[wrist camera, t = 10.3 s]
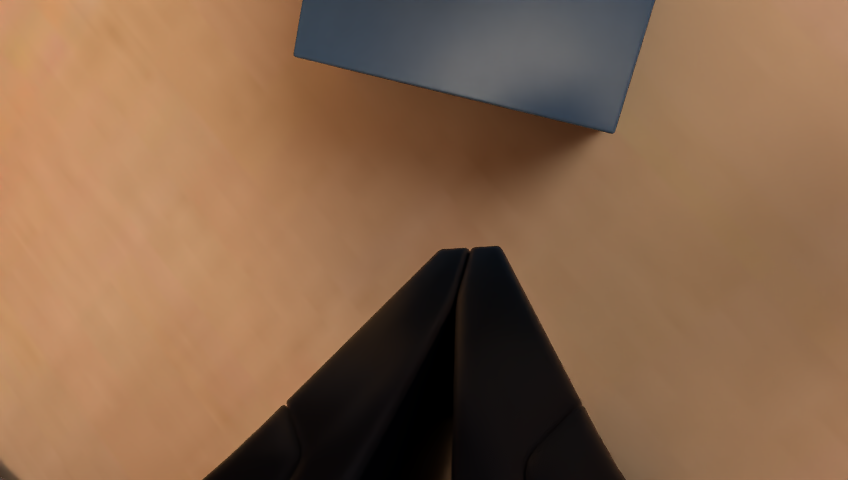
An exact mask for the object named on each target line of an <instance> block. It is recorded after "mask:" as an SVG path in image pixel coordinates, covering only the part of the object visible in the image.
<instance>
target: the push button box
mask: <svg viewBox="0 0 848 480" xmlns="http://www.w3.org/2000/svg"><path fill="white" fill-rule="evenodd" d="M654 3H655V0H303V1H302V7H301V13H300V19H299V25H298V31H297V37H296V43H295V49H294V56H295V57H297V58H301V59H306V60H310V61H314V62H318V63H322V64H326V65H330V66H334V67H339V68H343V69H347V70H351V71H355V72H359V73H363V74H367V75H372V76H376V77H380V78H384V79H388V80H392V81H396V82H400V83H405V84H409V85H413V86H417V87H421V88H425V89H429V90H433V91H437V92H442V93H446V94H450V95H454V96H458V97H462V98H466V99H470V100H475V101H479V102H483V103H487V104H491V105H495V106H499V107H503V108H508V109H512V110H516V111H520V112H524V113H528V114H532V115H536V116H541V117H545V118H549V119H553V120H557V121H561V122H565V123H569V124H573V125H578V126H582V127H586V128H590V129H594V130H598V131H602V132H606V133H611V134H613V133H614V132H615V130H616V127H617V124H618V120H619V117H620V114H621V111H622V107H623V104H624V101H625V97H626V94H627V91H628V88H629V84H630V81H631V78H632V75H633V71H634V68H635V65H636V62H637V58H638V55H639V52H640V48H641V45H642V42H643V39H644V35H645V32H646V29H647V26H648V22H649V19H650V16H651V13H652V9H653V6H654Z"/></svg>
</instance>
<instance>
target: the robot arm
mask: <svg viewBox="0 0 848 480" xmlns="http://www.w3.org/2000/svg"><path fill="white" fill-rule="evenodd" d="M203 480H626V479H625V478H624V476H623V475H622V473H621V472H620V470H619V469H618V467H617V466H616V464H615V462H614V460H613V459H612V457H611V455H610V453H609V452H608V450H607V448H606V446H605V445H604V443H603V441H602V439H601V438H600V436H599V434H598V432H597V431H596V429H595V427H594V425H593V423H592V421H591V419H590V417H589V415H588V413H587V411H586V409H585V408H584V407H583V406H582V403H581V401H580V399H579V397H578V395H577V393H576V391H575V389H574V387H573V385H572V383H571V381H570V379H569V377H568V375H567V374H566V372H565V370H564V368H563V366H562V364H561V362H560V360H559V358H558V356H557V354H556V352H555V350H554V348H553V346H552V345H551V343H550V341H549V339H548V337H547V335H546V333H545V331H544V329H543V327H542V325H541V323H540V321H539V319H538V317H537V316H536V314H535V312H534V310H533V308H532V306H531V304H530V302H529V300H528V298H527V296H526V294H525V292H524V290H523V288H522V287H521V285H520V283H519V281H518V279H517V277H516V275H515V273H514V271H513V269H512V267H511V265H510V263H509V261H508V259H507V258H506V256H505V254H504V252H503V250H502V249H501V247H499V246H487V247H475V248H472V249H471V251H469V249H467V248H454V249H442V250H440V251H438V252H437V253H436V254H435V255H434V256H433V257H432V258H431V259H430V260H429V261H428V262H427V263H426V264H425V265H424V266H423V267H422V268H421V269H420V270H419V271H418V272H417V273H416V274H415V275H414V276H413V277H412V278H411V279H410V280H409V281H408V282H407V283H406V284H405V285H404V286H403V287H402V288H401V289H400V290H399V291H398V292H397V293H396V294H394V295H393V296H392V297H391V298H390V299H389V300H388V301H387V302H386V303H385V304H384V305H383V306H382V307H381V308H380V309H379V310H378V311H377V312H376V313H375V314H374V315H373V316H372V317H371V318H370V319H369V320H368V321H367V322H366V323H365V324H364V325H363V326H362V327H361V328H360V329H359V330H358V331H357V332H356V333H355V334H354V335H353V336H352V337H351V338H350V339H349V340H348V341H347V342H346V343H345V344H344V345H343V346H342V347H341V348H340V349H339V350H338V351H337V352H336V353H335V354H334V355H333V356H332V357H331V358H330V359H329V360H328V361H327V362H326V363H325V364H324V365H323V366H322V367H321V368H320V369H319V370H318V371H317V372H316V373H315V374H314V375H313V376H312V377H311V378H310V379H309V380H308V381H307V382H306V383H305V384H304V385H303V386H302V387H301V388H300V389H299V390H298V391H297V392H296V393H295V394H294V395H293V396H292V397H290V398H289V399H288V401H287V406H285V405H283V406H281V407H280V408H279V409H278V410H277V411H276V412H275V413H274V414H273V415H272V416H271V417H270V418H269V419H268V420H267V421H266V422H265V423H264V424H263V425H262V426H261V427H260V428H259V429H258V430H257V431H256V432H255V433H253V434H252V435H251V436H250V437H249V438H248V439H247V440H246V441H245V442H244V443H243V444H242V445H241V446H240V447H239V448H238V449H237V450H235V451H234V452H233V453H232V454H231V455H230V456H229V457H228V458H227V459H226V460H225V461H223V462H222V463H221V464H220V465H219V466H218V467H216V468H215V469H214V470H213V471H212V472H211V473H210V474H208V475H207V476H206V477H205V478H204V479H203Z"/></svg>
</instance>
